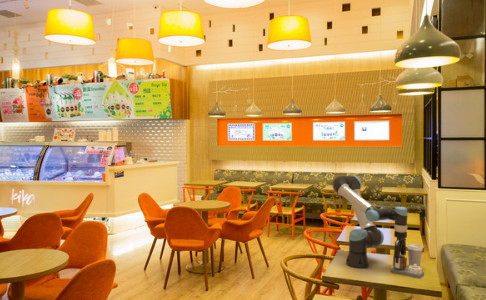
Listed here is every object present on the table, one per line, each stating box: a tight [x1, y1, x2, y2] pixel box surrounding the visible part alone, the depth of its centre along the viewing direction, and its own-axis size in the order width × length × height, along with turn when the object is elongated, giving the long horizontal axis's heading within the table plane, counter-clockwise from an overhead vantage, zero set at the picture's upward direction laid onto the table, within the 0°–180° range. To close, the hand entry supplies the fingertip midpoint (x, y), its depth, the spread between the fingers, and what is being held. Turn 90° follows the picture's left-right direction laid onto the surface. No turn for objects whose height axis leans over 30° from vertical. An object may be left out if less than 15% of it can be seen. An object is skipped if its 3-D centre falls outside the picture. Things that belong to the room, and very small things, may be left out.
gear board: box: [390, 264, 425, 279], centre depth 252 cm, size 18×9×7 cm, turn 49°
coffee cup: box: [406, 243, 423, 268], centre depth 263 cm, size 10×10×15 cm
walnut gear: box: [392, 255, 408, 269], centre depth 255 cm, size 8×8×6 cm
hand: (399, 266), depth 255 cm, fingers closed on walnut gear, 8 cm apart
